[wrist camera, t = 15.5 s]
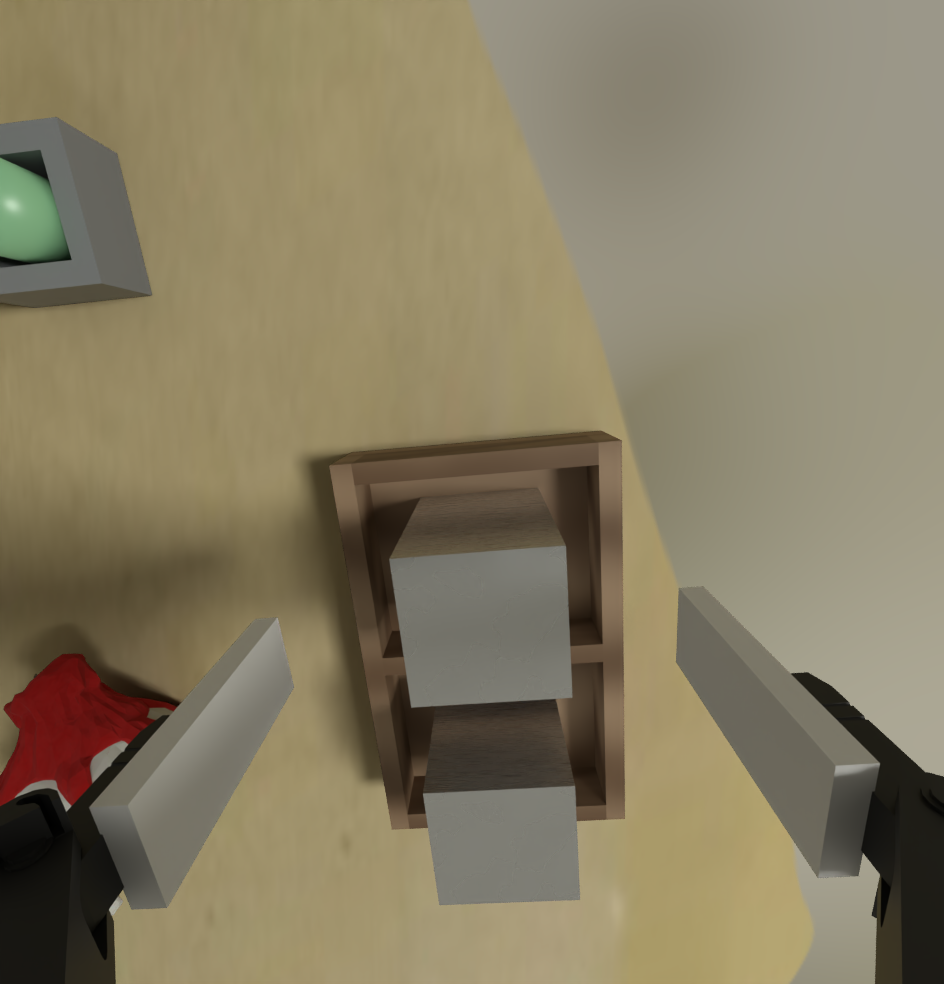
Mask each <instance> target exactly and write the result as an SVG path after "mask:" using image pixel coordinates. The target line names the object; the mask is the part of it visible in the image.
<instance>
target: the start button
mask: <svg viewBox="0 0 944 984" xmlns="http://www.w3.org/2000/svg"><path fill="white" fill-rule="evenodd" d="M0 256H2V257H6V258H10V259H14V260H18V261H22V262H26V263H31V264H40V263H49V262H58V261H67V260H72V259H71V255H70V252H69V248H68V245H67V241H66V238H65V234H64V231H63V227H62V224H61V220H60V217H59V213H58V210H57V206H56V203H55V199H54V196H53V192H52V189H51V185H50V182H49V179H47V178H44V177H42V176H40V175H38V174H35V173H33V172H31V171H29V170H26V169H24V168H22V167H20V166H18V165H15V164H13V163H11V162H9V161H6V160H4V159H2V158H0Z"/></svg>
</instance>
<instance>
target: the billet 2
mask: <svg viewBox="0 0 944 984" xmlns="http://www.w3.org/2000/svg"><path fill="white" fill-rule="evenodd" d="M423 797H424V804H425V811H426V818H427V824H428V831H429V838H430V845H431V852H432V858H433V865H434V872H435V879H436V886H437V892H438V899H439V905H455V904H481V903H508V902H534V901H561V900H580V889H579V866H578V842H577V818H576V795H575V783H574V779H573V774H572V770H571V765H570V761H569V756H568V752H567V747H566V742H565V738H564V733H563V729H562V724H561V720H560V715H559V711H558V706H557V702H556V699H545V700H528V701H511V702H495V703H478V704H461V705H445V706H436V708H435V715H434V721H433V728H432V735H431V742H430V749H429V756H428V762H427V769H426V776H425V783H424V790H423Z"/></svg>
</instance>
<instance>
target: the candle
mask: <svg viewBox="0 0 944 984" xmlns="http://www.w3.org/2000/svg"><path fill="white" fill-rule="evenodd" d="M176 708H177V706H174V705H172V704H169V703H167V702H162V701H156V700H152V699H147V698H136V697H128V696H126V695H123V694H120V693H117V692H115V691H114V690H112V689H111V688H110V687H108V686H107V685H106V684H104V683H101V680H100V678H99V677H98V675H97V673H96V672H95V671H94V670H93V669H92V668H91V667H90V666H89V665H88V664H87V662H86V660H85V657H84V656H83V654H62V655H60V656H59V657H57V658H56V659H55V660H53V661H52V662H51V663H50V664H49V665H48V666H47V667H46V668H45V669H44V670H43V671H42V672H40V673H39V674H38V675H37V674H35V676H34V679H33V680H32V681H31V682H30V683H29V684H28V686H27V687H26V689H25V690H24V691H23V692H21V693H19V694H16V695H15V696H14V698H13V701H12V702H10V703H7V704H6V705H5V706H4V710H5V712H6V713H7V714H8V716H9V717H10V719H11V720H12V721H13V723H14V724H15V725H16V727H18V728H19V729H20V731H19V737H18V742H17V745H16V748H15V750H14V752H13V754H12V756H11V758H10V759H9V761H8V763H7V765H6V768H5V769H4V771H3V772H2V774H1V776H0V806H1V805H3V804H5V803H7V802H9V801H10V800H12V799H14V798H16V797H18V796H20V795H23V794H25V793H28V792H31V791H33V790H38V789H44V788H51V789H54V790H57V791H58V794H59V796H60V798H61V801H62V803H63V805H64V807H65V810H66V812H67V810H68V809H69V808H70V807H71V806H72V805H73V804H74V803H75V802H76V801H77V800H78V799H79V797H80V796H81V795H82V794H83V793H84V792H85V791H86V790H87V789H88V788H89V787H90V786H91V784H92V783H93V782H94V781H95V780H96V779H97V778H98V777H99V776H100V775H101V774H102V773H103V771H104V770H105V769H106V768H107V767H110V766H111V763H112V762H113V761H114V760H115V758H116V757H117V756H118V755H119V754H120V753H121V752H124V751H125V748H126V747H127V745H128V744H129V743H130V742H131V741H132V740H133V739H134V738H135V737H136V736H137V735H138V734H139V732H140V731H141V730H143V729H144V728H146V727H147V726H148V725H150V724H151V723H152V722H154V721H155V720H157V719H158V718H159V717H161V716H162V715H171V714H172V713H173V712H174V710H175V709H176ZM122 902H123V900H122V899H121V898H120V897H119V896H118V897H117V899H116V900H115V901H114V903H113V904H112V906H111V907H110V909H109V911H110V913H111V915H114V914H115V912H116V910H117V909H118V908H119V907H120V905H121V904H122Z"/></svg>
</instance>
